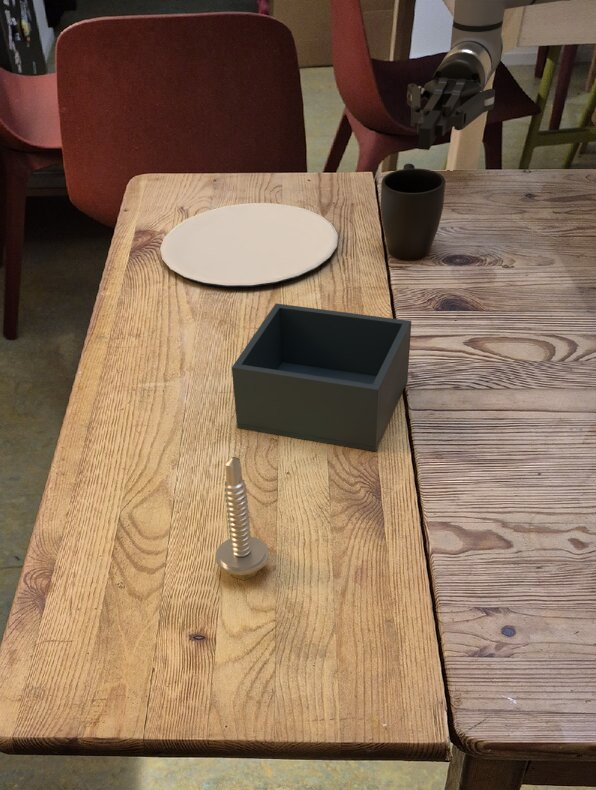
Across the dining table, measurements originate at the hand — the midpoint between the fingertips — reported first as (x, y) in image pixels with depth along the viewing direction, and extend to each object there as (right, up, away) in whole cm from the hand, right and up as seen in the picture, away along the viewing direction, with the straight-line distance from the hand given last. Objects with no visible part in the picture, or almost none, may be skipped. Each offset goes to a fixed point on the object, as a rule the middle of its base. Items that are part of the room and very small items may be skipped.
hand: (424, 139), depth 124 cm
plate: (-23, -12, +7) cm, 27 cm away
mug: (-1, -13, +4) cm, 13 cm away
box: (-15, -40, -21) cm, 47 cm away
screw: (-24, -59, -38) cm, 74 cm away
